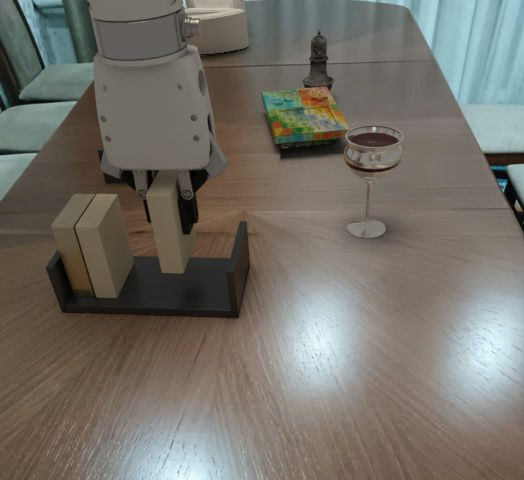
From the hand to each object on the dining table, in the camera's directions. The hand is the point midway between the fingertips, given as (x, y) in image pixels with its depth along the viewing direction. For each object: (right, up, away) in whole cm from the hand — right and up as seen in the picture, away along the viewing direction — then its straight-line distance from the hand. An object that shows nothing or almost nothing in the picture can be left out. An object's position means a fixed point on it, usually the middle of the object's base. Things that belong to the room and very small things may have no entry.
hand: (174, 226), depth 61 cm
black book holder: (-3, -6, +6) cm, 9 cm away
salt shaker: (+20, +34, +48) cm, 62 cm away
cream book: (0, -3, +2) cm, 4 cm away
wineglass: (+23, +3, +13) cm, 27 cm away
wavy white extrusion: (-2, +64, +82) cm, 104 cm away
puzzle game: (+16, +24, +37) cm, 47 cm away
